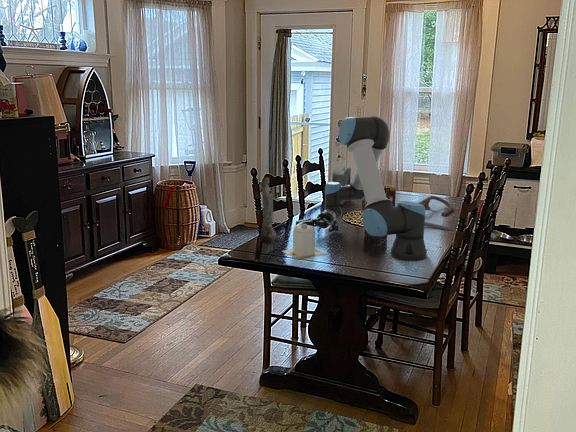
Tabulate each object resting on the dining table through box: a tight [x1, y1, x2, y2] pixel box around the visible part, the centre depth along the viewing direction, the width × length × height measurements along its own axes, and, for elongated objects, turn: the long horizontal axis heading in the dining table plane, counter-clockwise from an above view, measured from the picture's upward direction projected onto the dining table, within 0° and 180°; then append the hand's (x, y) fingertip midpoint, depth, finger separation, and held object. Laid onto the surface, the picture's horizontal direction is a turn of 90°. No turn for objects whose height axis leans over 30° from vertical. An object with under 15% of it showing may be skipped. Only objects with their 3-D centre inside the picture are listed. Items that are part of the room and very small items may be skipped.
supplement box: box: [361, 183, 397, 213], centre depth 304 cm, size 10×15×16 cm
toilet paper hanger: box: [418, 195, 454, 217], centre depth 311 cm, size 28×7×17 cm
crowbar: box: [424, 221, 451, 231], centre depth 284 cm, size 40×2×5 cm, turn 61°
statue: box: [259, 177, 279, 244], centre depth 252 cm, size 8×7×30 cm
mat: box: [324, 238, 341, 246], centre depth 250 cm, size 12×12×1 cm
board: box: [281, 248, 327, 261], centre depth 235 cm, size 14×14×1 cm
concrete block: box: [331, 166, 352, 206], centre depth 329 cm, size 27×9×20 cm, turn 164°
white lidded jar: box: [292, 224, 316, 256], centre depth 234 cm, size 9×9×12 cm
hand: (311, 230), depth 241 cm, fingers open, 13 cm apart
